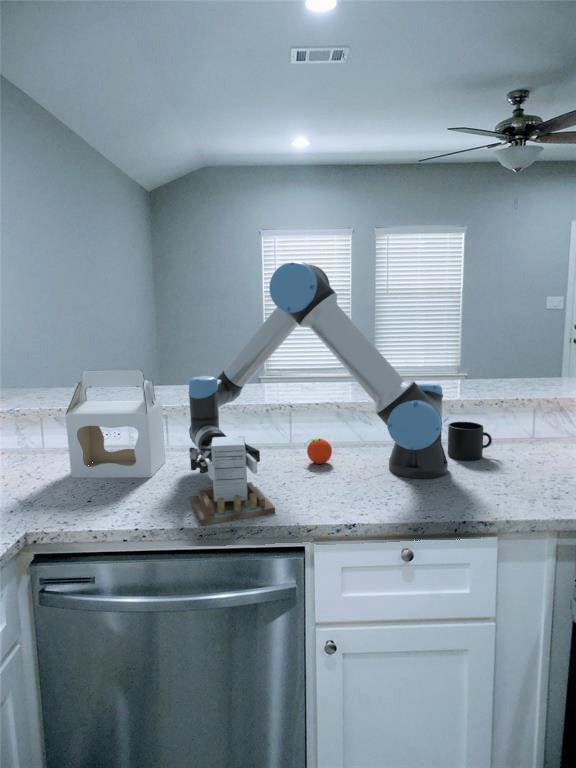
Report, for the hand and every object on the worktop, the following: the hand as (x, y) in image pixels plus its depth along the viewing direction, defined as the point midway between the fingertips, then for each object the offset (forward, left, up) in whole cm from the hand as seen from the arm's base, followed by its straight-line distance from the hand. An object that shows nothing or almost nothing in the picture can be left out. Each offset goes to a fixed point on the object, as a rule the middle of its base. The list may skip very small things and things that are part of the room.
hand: (234, 470), depth 107 cm
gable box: (+22, -43, -10) cm, 49 cm away
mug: (-72, -14, -10) cm, 74 cm away
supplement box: (0, -5, -7) cm, 9 cm away
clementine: (-30, -26, -10) cm, 41 cm away
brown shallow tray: (0, -5, -10) cm, 11 cm away
